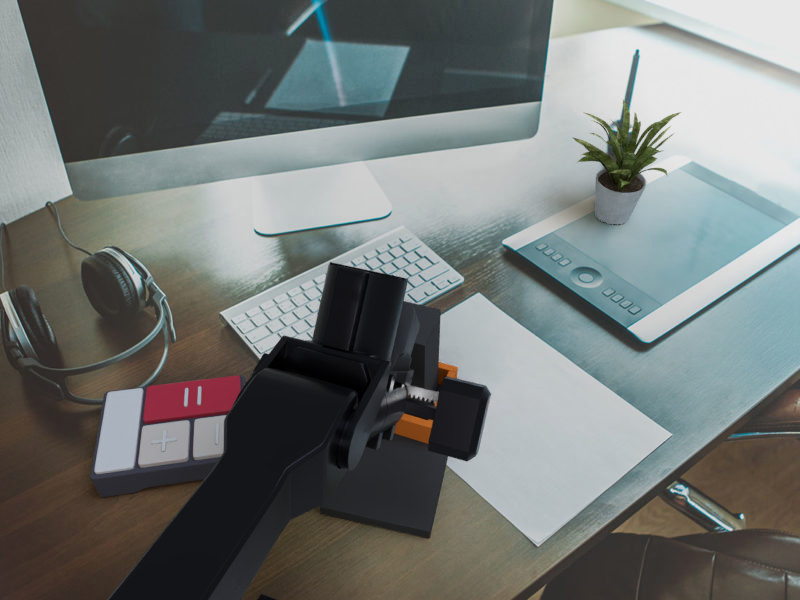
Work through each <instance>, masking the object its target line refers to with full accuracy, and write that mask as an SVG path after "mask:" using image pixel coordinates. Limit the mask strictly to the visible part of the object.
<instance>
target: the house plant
mask: <svg viewBox="0 0 800 600" xmlns="http://www.w3.org/2000/svg"><path fill="white" fill-rule="evenodd" d="M622 107H623V108H622V109H623V111H622V112H623V117H622V118H623V119H622V127H620V126H619V125H618V124H617V123H616V122H615V121H613V120H612V119H610V121H611V122H612V123H613V124H614V125H615V126H616V128H617V132H616V134H615V131H614V130H613V129H612V128H611V126H610V124H609V123H607V122H606V121H605V120H604V119H602V118H600V117H598V116H595V115H594V114H590V113H588V112H584V111H582V113H583V114H585V115H587V116H589V117H591V118H592V119H594V120H591V121H592V122H594V123H596V124H598V125H600V126H601V128H602V129H603V130H604V132H605V133H606V136H607V138H608V140H605V139H604V138H603V137H602V136H600V135H599V134H597V133H595V132H589V135H593V136H596V137H598V138H600V139H601V140H602V141H603V142H605V144H607V146H608V147H609V148H610V150H611V152H612V154H613V156H614V158H615V160H614V159H613V157H611V156H610V155H609V154H608V153H607V152H605V151H604V150H602V149H600V148H599V147H596V146H595V145H593V144H592V143H590V142H588V141H586V140H584V139H580V138H576V137H572V139H573V140H574V141H575V142H576V143H578V144H580V145H582V146H583V147H584V148H585V149H586V152H583V153H581V154H580V156H583V157H581V158H580V159H579V160H578V161H577V163H579V162H580V163H581V162H582V163H583V162H585V163H586V162H595V163H596V162H597V163H600V164H601V165H602V166H603V168H601V169H600V170H599V171H598V172H597V173H596V175H595V185H594V186H595V189H594V216H595V217H596V219H597V218H598V221H600V220H601V221H600V222H602V221H603V222H606V223H607V224H606V223H605V224H606V225H610V224H612V225H611V226H614V225H613V224H617V225H616V226H619V225H618V224H621V225H624V224H626V223H627V222H628V221H629V220H630V217H631V216H632V214H633V213H634V210H635V208H636V206H637V205H638V202H639V200H640V199H641V197H642V195H643V193H644V191H645V189H646V187H647V184H648V183H647V179H646V178H645V176H644V174H642V173H645V172H646V171H657V172H661V173H664V174H665V175H666V176H668V172H667V170H666V169H665V168H662V167H651V168H647V169H645V168H646V167H648V166H650V165H651V164H653V163H655V162H656V161H657V160H658V158H657V157H655V155H656V154H658V153H661V152H665V150H659V149H658V148H660V147H661V146H662V145H664V143H665V142H666V141H668V140H669V139H670V138H671V137H672V136H673V135H674V133H672V134H671V135H669V136H667V137H666V138H664V139H663V140H662V141H661V142H659V143H658V144H657V145H656V146H655V147H652V146H654V144H656V143H657V142H658V141H659V140H660V139H661V138H662V137H663V136H664V135H665V133H667V131H668V130H669V129H670V128H671V127H672V125H669V126H668V127H667V128H666V129H664V130H663V131H662V132H660V131H661V130H662V129H663V128H664V127H666V125H667V124H669V122H671V120H673V118H675V117H677V116H679V115H680V114H682V112H680V111H679V112H676V113H672V114H669V115H667V116H666V117H663V118H662V119H661V120H659V121H655V122H653V123H651V124H650V125H648V127H646V128H645V130H644V131H643V132H642V133H641V135H640V131H641V127H642V123H641V121H639V120H638V115H637V113H636V112H634V115H633V116H634V117H633V125H632V128H631V129H632V130H631V135H630V138H629V134H630V121H631V113H630V109H629V108H628V105H627V103H626V101H625V100H624V99H622ZM658 133H659V134H658ZM657 134H658V136H657ZM639 135H640V137H639ZM638 138H639V139H638ZM643 139H644V140H643ZM653 139H654V140H653ZM642 140H643V141H642ZM641 142H642V143H641ZM639 145H640V146H639ZM637 149H638V150H637ZM635 152H636V153H635ZM643 169H644V170H643ZM603 222H602V223H603ZM623 223H624V224H623Z"/></svg>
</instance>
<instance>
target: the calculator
mask: <svg viewBox="0 0 800 600" xmlns="http://www.w3.org/2000/svg"><path fill="white" fill-rule="evenodd" d="M246 382H247V378H246V376H245V375H243V374H239V375H230V376H229V375H228V376H222V377H213V378H205V379H197V380H187V381H180V382H170V383H163V384H153V385H147V386H139V387H130V388H122V389H114V390H108V391H106V392H104V394H103V398H102V403H101V404H102V405H101V409H100V416H99V421H98V422H99V423H98V428H97V433H96V440H95V444H94V450H93V456H92V462H91V468H90V475H89V478H90V481H91V482H92V484H93V486H94V488H95V489H96V492H97V493H98V495H99V496H100V497H101V498H105V497H106V498H108V497H113V496H114V497H115V496H120V495H128V494H134V493H139V492H141V491H143V490H145V489H146V488H154V487H160V486H167V485H175V484H182V483H187V482H188V483H189V482H194V481H202V480H204V479H205V478H206V477H207V476H208V474H209V473H210V472H211V470H212V469H213V468H214V466H215V465H216V463H217V462H218V460H219V459H220V457H221V456H222V454H223V451H224V419H225V417H226V415H227V414H228V413H229V411H230V410H231V408H232V407H233V404H234V402H235V400H236V398H237V396H238V394H239V393H240V391H241V390H242V388H243V387H244V385H245V383H246Z"/></svg>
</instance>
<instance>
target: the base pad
mask: <svg viewBox="0 0 800 600" xmlns="http://www.w3.org/2000/svg"><path fill="white" fill-rule="evenodd" d="M458 369H459V367H458V366H455V365H452V364H448V363H444V362H441V361H439V368H438V392H439V391H440V388H441V385H442V383H443V380H444V378H445V376H447V377H451V378H457V379H458ZM433 405H434V406H436V405H437V401H436V403H435V404H434V403H433ZM432 423H433V420H430V419H427V420H425V419H421V418H418V417H415V416H411V415H408V414H405V413H404V414H403V416H402V418H401V419H400V420H399V421H398V422H397V423H396V427H395V431H394V436H393V439H392V440H390V441H388V440H385V439H381V444H380V448H378V449H377V450H375V449H371V448H368V447H365V448H364V451H363V454H362V456H361V458H360V461H359V462H358V464H357V466H356V467H355V468H354V470H351V471H350V470H347V472H346V473H345V475H344V477H343V478H342V480H341V481H340V483H339V485H338V487H337V488H336V489H335V490H334V491H333V493H332V494H331V496H330V497H329V499H328V500H327V502H326V503H325V504H323V505H322V506H319V507H318V509H319V513H320V515H323V516H329V517H333V518H337V519H342V520H346V521H350V522H354V523H359V524H363V525H367V526H372V527H377V528H381V529H386V530H390V531H394V532H398V533H403V534H407V535H411V536H416V537H421V538H425V539H430V538H431V535H432V531H433V526H434V522H435V516H436V514H437V507H438V503H439V499H440V495H441V491H442V485H443V482H444V477H445V472H446V468H447V463H448V458H449V456H446V455H442V454H438V453H435V452H431V451H428V441H429V437H430V432H431V428H432Z"/></svg>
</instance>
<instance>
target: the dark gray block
mask: <svg viewBox="0 0 800 600" xmlns="http://www.w3.org/2000/svg"><path fill="white" fill-rule="evenodd" d="M404 302H408V303H410V304H411V305H412V306H413V307H414V309H415V312H416V315H417V317H418V320H419V323H420V327H419V331H418V333H417V336H416V339H415V343H414V346H413V349H412V353H411V356H410V357H411V364H410V368H409V369H412V370H414V372H413V377H412V381H411V385H414V386H417V387H421V388H425V389H429V390H433V391H437V392H438V368H439V362H440V337H441V314H442V310H441V309H440V308H435V307H432V306H427V305H422V304H419V303H414V302H410V301H405V300H404ZM407 399H411V400H415V401H419V402H423V403H427V404H431V405H433V400H432V401H431V402H429V399H427V401H424V397H423V399H422V400H420V397H418V398H417V399H415V395H414V397H413V398H411V394H410V395H409V396H408V397H407ZM405 414H407V413H405ZM408 415H411V414H408ZM411 416H415V415H411ZM415 417H418V416H415ZM418 418H421V419H425V420H427V419H426V418H422V417H418Z"/></svg>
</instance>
